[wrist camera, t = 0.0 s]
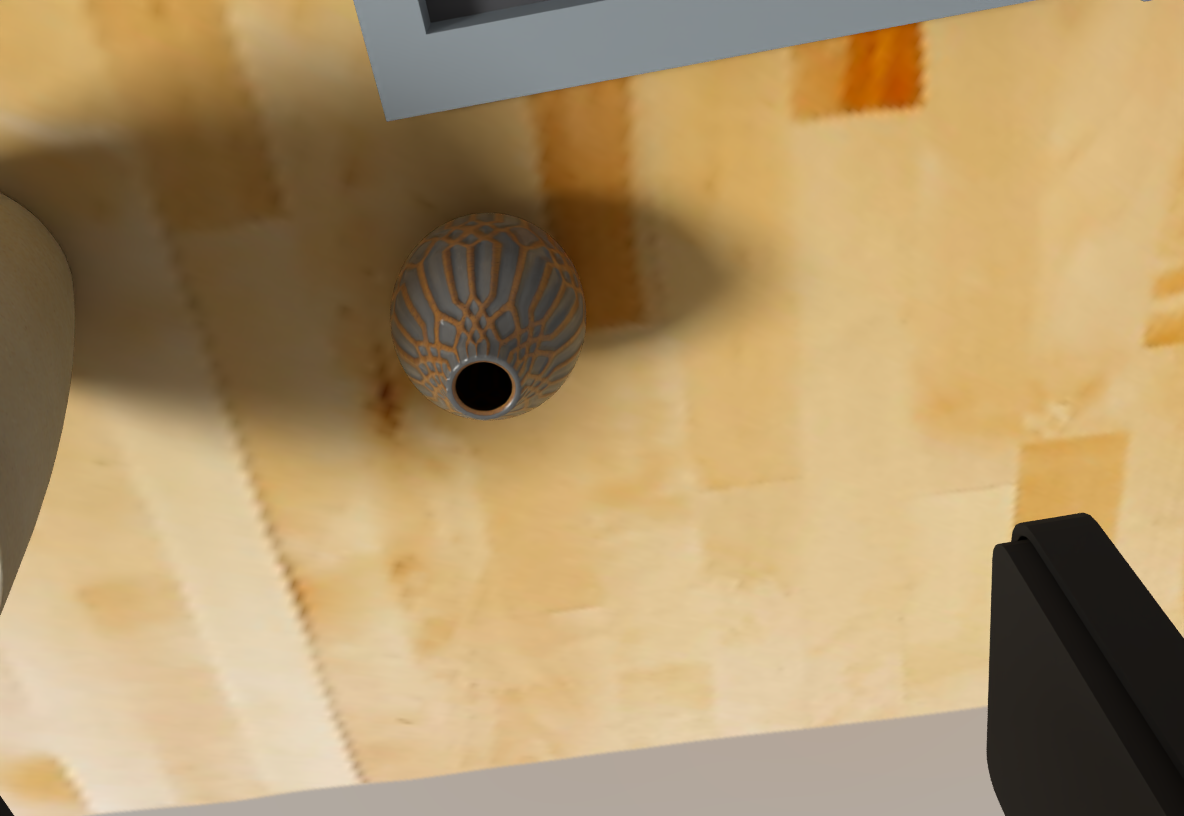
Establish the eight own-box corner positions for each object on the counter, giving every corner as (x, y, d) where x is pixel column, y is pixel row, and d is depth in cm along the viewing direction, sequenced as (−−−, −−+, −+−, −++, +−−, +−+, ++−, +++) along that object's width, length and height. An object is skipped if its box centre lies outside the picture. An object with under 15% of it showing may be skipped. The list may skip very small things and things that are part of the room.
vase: (590, 343, 43) (603, 466, 35) (419, 362, 43) (396, 489, 36) (571, 178, 39) (580, 276, 32) (385, 199, 39) (351, 302, 32)
